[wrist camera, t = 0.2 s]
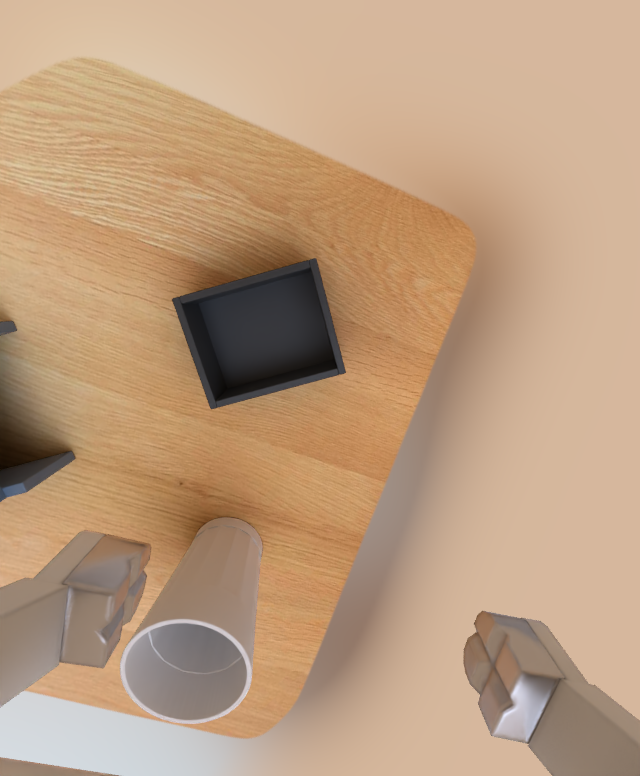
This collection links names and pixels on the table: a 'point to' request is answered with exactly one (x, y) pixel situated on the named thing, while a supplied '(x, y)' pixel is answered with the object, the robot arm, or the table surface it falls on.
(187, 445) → the table surface
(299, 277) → the basket
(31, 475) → the cubby shelf
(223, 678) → the cup
